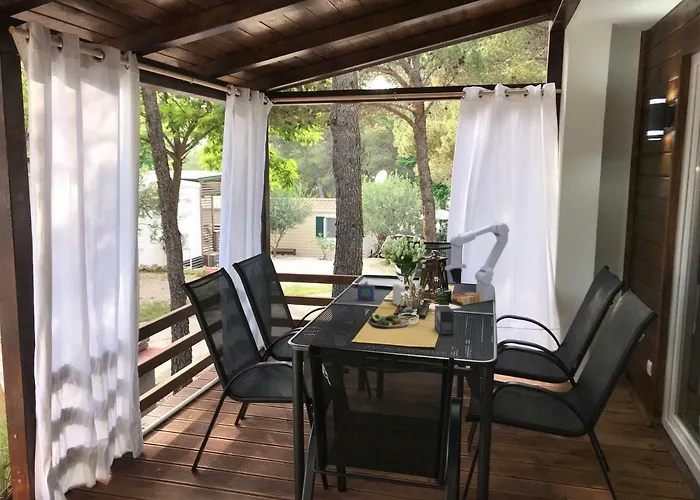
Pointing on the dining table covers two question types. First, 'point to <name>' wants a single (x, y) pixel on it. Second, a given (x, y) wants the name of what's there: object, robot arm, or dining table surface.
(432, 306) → the mat
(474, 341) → the dining table surface
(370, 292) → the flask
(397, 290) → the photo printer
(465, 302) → the candy box
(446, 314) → the small box
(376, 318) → the salad plate
